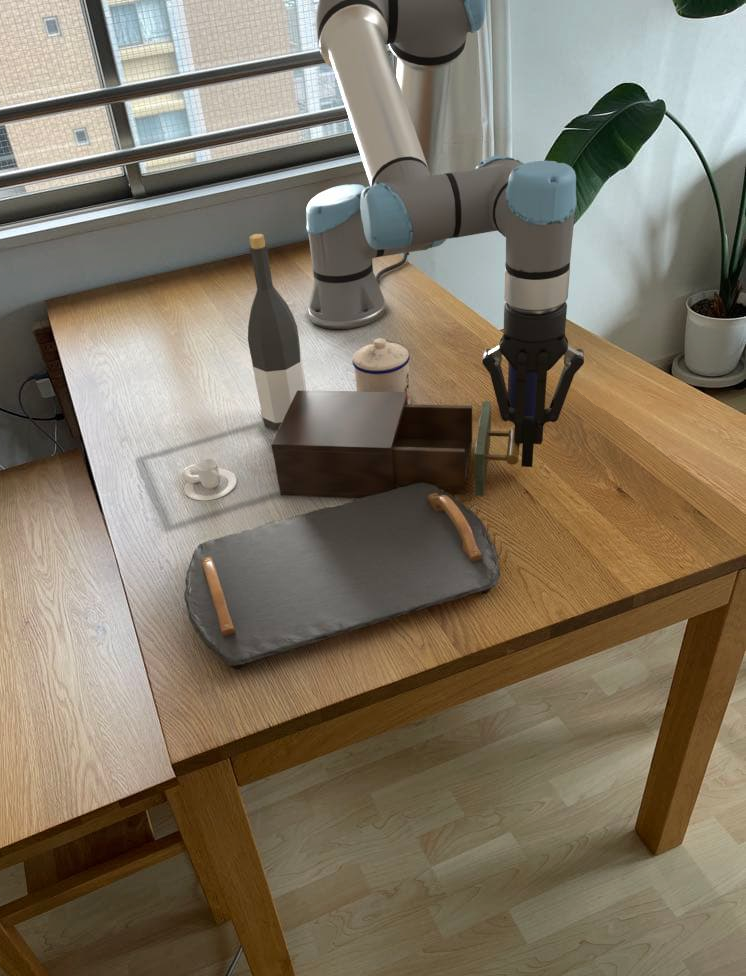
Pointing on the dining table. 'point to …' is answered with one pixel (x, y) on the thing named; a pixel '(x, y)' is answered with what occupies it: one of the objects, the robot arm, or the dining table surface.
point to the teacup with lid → (382, 368)
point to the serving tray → (336, 571)
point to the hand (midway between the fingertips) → (527, 461)
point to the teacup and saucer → (207, 479)
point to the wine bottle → (273, 342)
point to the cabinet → (338, 443)
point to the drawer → (445, 446)
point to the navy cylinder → (530, 390)
